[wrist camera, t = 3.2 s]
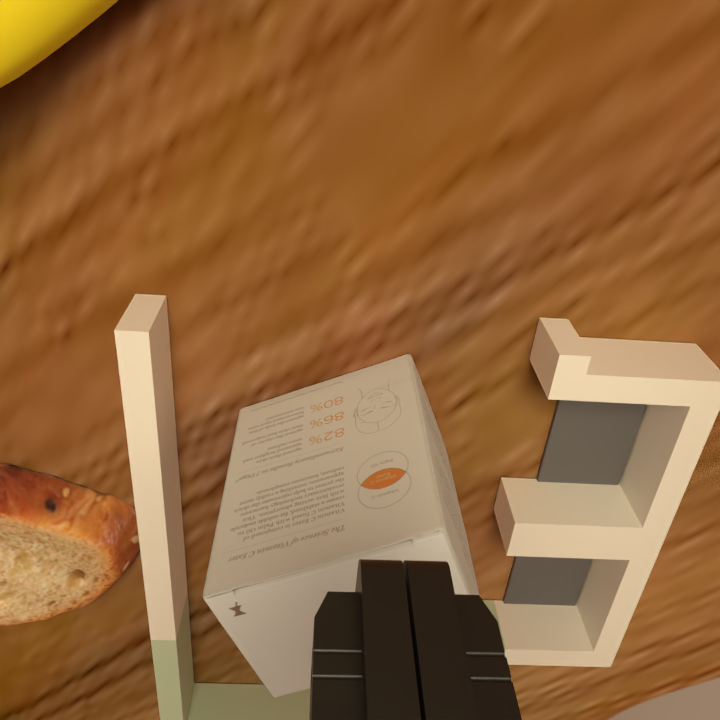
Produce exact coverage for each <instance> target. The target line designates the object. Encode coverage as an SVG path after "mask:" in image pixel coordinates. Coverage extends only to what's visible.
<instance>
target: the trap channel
mask: <svg viewBox="0 0 720 720" xmlns="http://www.w3.org/2000/svg"><path fill="white" fill-rule="evenodd" d="M114 332H115V340H116V349H117V357H118V366H119V374H120V383H121V391H122V400H123V408H124V417H125V425H126V434H127V442H128V451H129V459H130V468H131V476H132V484H133V493H134V501H135V510H136V518H137V527H138V535H139V544H140V552H141V561H142V569H143V578H144V586H145V595H146V603H147V612H148V620H149V629H150V637H151V645H152V654H153V662H154V671H155V679H156V688H157V696H158V705H159V713H160V720H309V714H310V688H309V689H305V690H302V691H298V692H294V693H290V694H286V695H282V696H279V697H276V698H275V697H273V696H272V695H271V693H270V691H269V690H268V689H267V688H266V686H265V685H262V684H218V683H194V672H193V658H192V644H191V630H190V617H189V603H188V589H187V575H186V561H185V547H184V533H183V519H182V505H181V491H180V477H179V463H178V449H177V435H176V421H175V407H174V393H173V379H172V365H171V352H170V338H169V324H168V310H167V296H165V295H148V294H135V295H134V297H133V299H132V301H131V302H130V304H129V306H128V308H127V309H126V311H125V313H124V314H123V316H122V318H121V320H120V321H119V323H118V325H117V326H116V328H115V330H114ZM529 360H530V362H531V364H532V366H533V368H534V370H535V373H536V375H537V377H538V379H539V381H540V383H541V385H542V388H543V390H544V392H545V394H546V396H547V398H548V399H551V400H558V402H557V406H556V409H555V413H554V417H553V420H552V424H551V428H550V431H549V435H548V438H547V442H546V446H545V449H544V453H543V457H542V460H541V464H540V468H539V471H538V475H537V479H527V478H504V477H501V480H500V484H499V488H498V492H497V497H496V501H495V505H494V513H495V516H496V520H497V523H498V527H499V531H500V534H501V538H502V541H503V545H504V549H505V552H506V556H515V559H514V563H513V566H512V570H511V573H510V577H509V581H508V584H507V588H506V592H505V595H504V599H503V601H502V600H483V602H484V603H485V604H486V606H487V607H488V609H489V610H490V611H491V613H492V614H493V616H494V617H495V618H496V620H497V621H498V625H499V629H500V634H501V638H502V642H503V646H504V650H505V657H506V658H507V662H508V665H545V666H585V667H611V665H612V662H613V660H614V658H615V655H616V653H617V651H618V648H619V646H620V644H621V641H622V639H623V636H624V634H625V632H626V629H627V627H628V625H629V622H630V620H631V618H632V615H633V613H634V610H635V608H636V606H637V603H638V601H639V599H640V596H641V594H642V592H643V589H644V587H645V584H646V582H647V580H648V577H649V575H650V573H651V570H652V568H653V566H654V563H655V561H656V558H657V556H658V554H659V551H660V549H661V547H662V544H663V542H664V540H665V537H666V535H667V532H668V530H669V528H670V525H671V523H672V521H673V518H674V516H675V514H676V511H677V509H678V506H679V504H680V502H681V499H682V497H683V495H684V492H685V490H686V488H687V485H688V483H689V480H690V478H691V476H692V473H693V471H694V469H695V466H696V464H697V462H698V459H699V457H700V454H701V452H702V450H703V447H704V445H705V443H706V440H707V438H708V436H709V433H710V431H711V428H712V426H713V424H714V421H715V419H716V417H717V414H718V412H719V410H720V370H719V369H718V367H717V366H716V365H715V364H714V363H713V362H712V361H711V360H710V359H709V357H708V356H707V355H706V354H705V353H704V352H703V351H702V350H701V349H700V348H699V346H698V345H697V344H693V343H675V342H658V341H640V340H622V339H605V338H587V337H579V336H578V334H577V333H576V331H575V329H574V328H573V326H572V325H571V323H570V321H569V320H568V319H558V318H541V317H539V321H538V325H537V329H536V334H535V338H534V342H533V346H532V350H531V355H530V359H529Z"/></svg>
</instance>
